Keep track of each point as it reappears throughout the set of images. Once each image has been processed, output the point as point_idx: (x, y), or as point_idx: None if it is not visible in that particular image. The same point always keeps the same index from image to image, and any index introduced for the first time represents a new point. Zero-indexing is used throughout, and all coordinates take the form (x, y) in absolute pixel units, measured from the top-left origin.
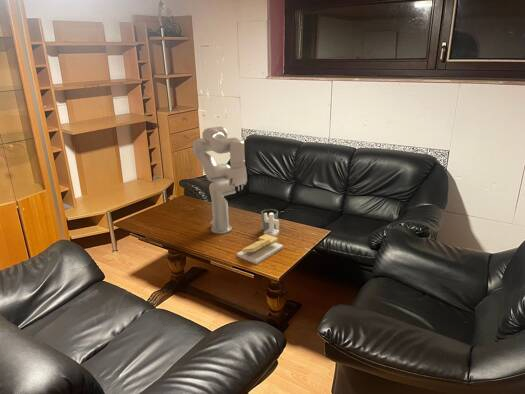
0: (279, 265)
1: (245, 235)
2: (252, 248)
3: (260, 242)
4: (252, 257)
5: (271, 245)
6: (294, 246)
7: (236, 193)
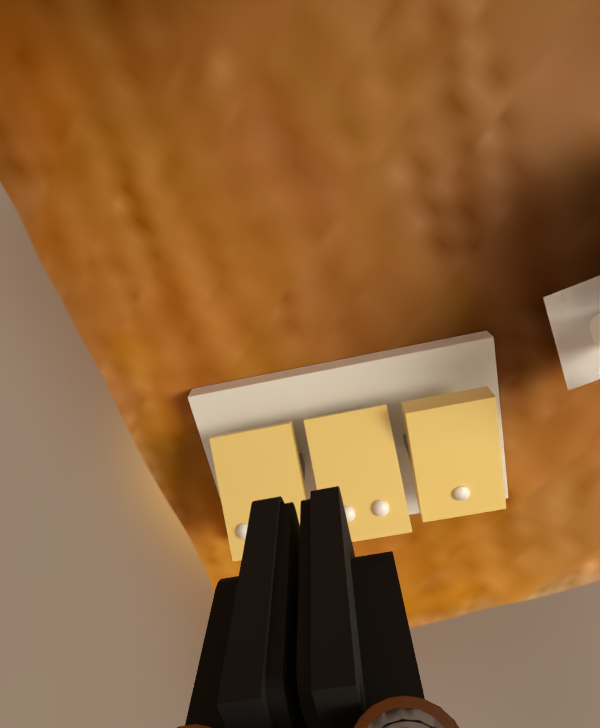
0: None
1: (453, 137)
2: (231, 550)
3: (348, 495)
4: None
5: None
6: (565, 512)
7: (213, 653)
